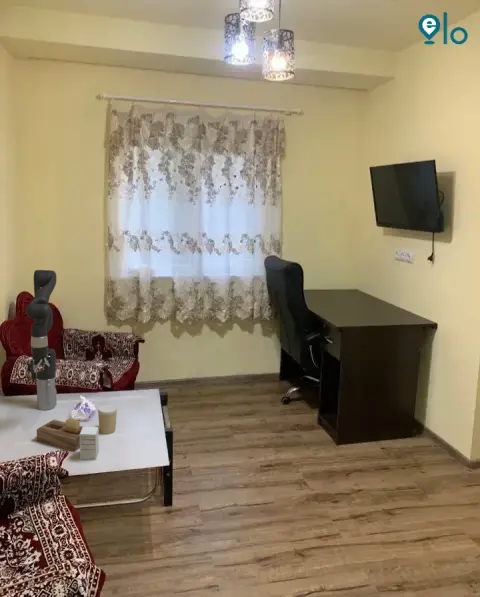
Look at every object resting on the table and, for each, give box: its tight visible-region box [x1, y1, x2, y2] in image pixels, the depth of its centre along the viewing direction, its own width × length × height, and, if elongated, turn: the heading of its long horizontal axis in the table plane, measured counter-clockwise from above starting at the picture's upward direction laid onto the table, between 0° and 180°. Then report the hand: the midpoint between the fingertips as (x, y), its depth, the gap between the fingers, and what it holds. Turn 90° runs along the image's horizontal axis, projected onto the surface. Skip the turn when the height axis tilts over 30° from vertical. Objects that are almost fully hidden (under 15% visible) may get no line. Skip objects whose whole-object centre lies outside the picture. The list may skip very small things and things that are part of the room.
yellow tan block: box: [65, 417, 81, 435], centre depth 247 cm, size 2×6×10 cm, turn 70°
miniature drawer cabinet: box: [79, 426, 100, 461], centre depth 237 cm, size 7×7×13 cm
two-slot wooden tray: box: [36, 419, 84, 452], centre depth 249 cm, size 12×22×6 cm, turn 69°
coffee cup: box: [97, 404, 118, 435], centre depth 261 cm, size 9×9×12 cm
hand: (40, 376), depth 253 cm, fingers open, 8 cm apart
